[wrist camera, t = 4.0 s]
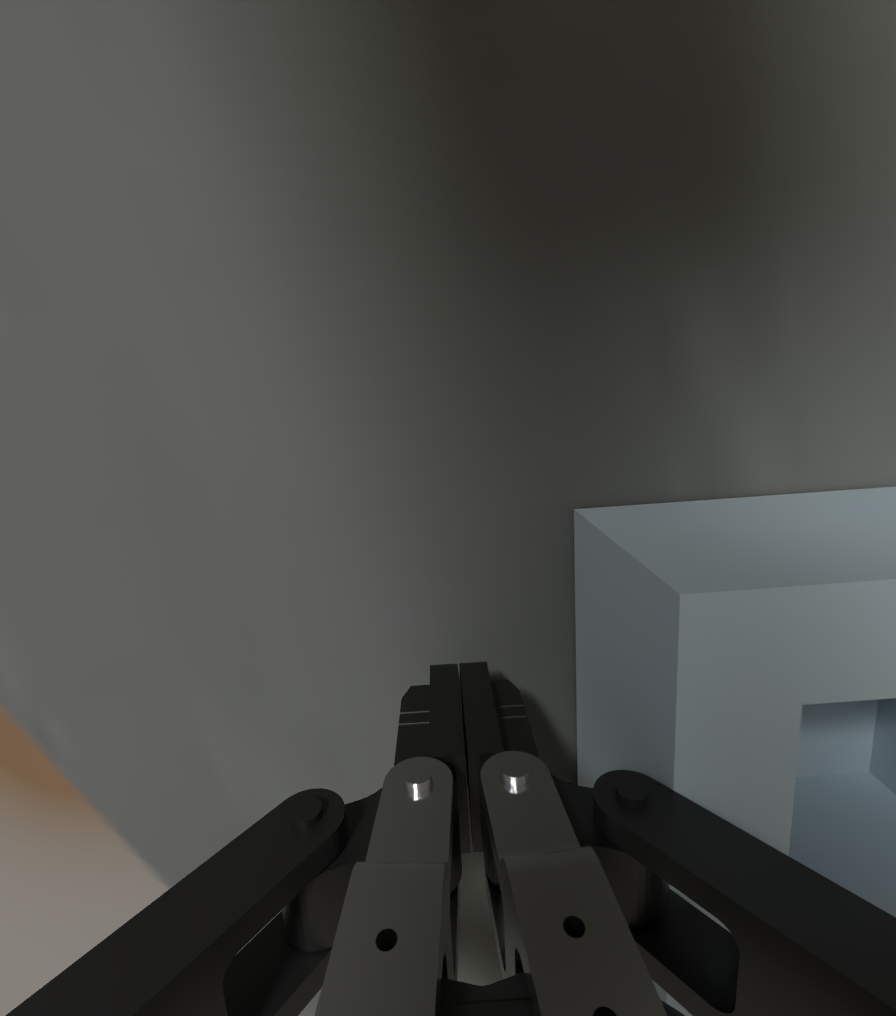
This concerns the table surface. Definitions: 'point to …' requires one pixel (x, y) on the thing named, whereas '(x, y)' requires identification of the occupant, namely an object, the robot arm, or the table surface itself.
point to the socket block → (749, 668)
